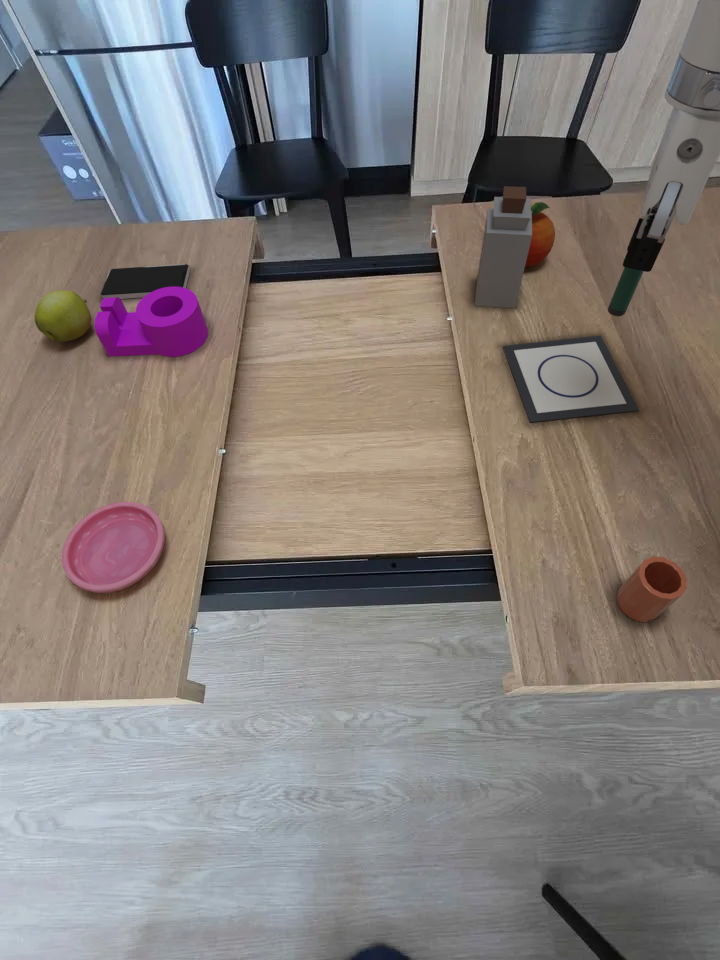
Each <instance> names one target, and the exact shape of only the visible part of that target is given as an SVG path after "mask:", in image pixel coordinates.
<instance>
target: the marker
mask: <svg viewBox="0 0 720 960" xmlns="http://www.w3.org/2000/svg"><path fill="white" fill-rule="evenodd" d="M652 221H653V219H651V218H649V221H648V223H649V222H651V223H652ZM648 223H647V224H648ZM644 272H645V271H640V270H636V269H631V268H626V267H623V270H622V273H621V275H620V277H619V279H618V283H617V285H616V287H615V290H614V292H613V295H612V297H611V299H610V302H609V305H608V307H607V312H608V314H610V315H611V316H613V317H622V316H624V315H625V314H626V312H627V310H628V309H629V305H630V303H631V301H632V299H633V296H634V294H635V292H636V290H637V289H638V288H637V287H638V286H639V283H640V280H641V279H642V276H643V274H644Z"/></svg>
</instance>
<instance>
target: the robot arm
mask: <svg viewBox="0 0 720 960" xmlns="http://www.w3.org/2000/svg"><path fill="white" fill-rule="evenodd" d="M683 39H684V40H683V43H682V45H681V48H680V51H679V53H678V55H677V56H678V57H677V59H676V61H675V64H674V67H673V70H672V72H671V75H670V78H669V81H668V83H667V86H666V89H665V90H664V99H665V100H666V102H667V103H668V104H669V105H670V106H672V110H671V113H670V114H669V115H670V116H669V117H668V120H667V123H666V126H665V129H664V131H663V134H662V137H661V140H660V142H659V145H658V148H657V150H656V154H655V157H654V160H653V163H652V166H651V170H650V174H649V177H648V180H647V184H646V188H645V192H644V195H643V200H642V205H641V208H640V214H641V217H639V218H638V220H637V222H636V225H635V227H634V230H633V233H632V236H631V238H630V240H629V243H628V245H627V249H626V250H627V252H626V254H625V257H624V259H623V262H622V267H623V268H625V267H626V268H631V269H636V270H640V271H644V272H646V273H648V272H651V271H652V270H653V268H654V265H655V263H656V261H657V259H658V257H659V255H660V252H661V250H662V248H663V245H664V243H665V241H666V238H665V237H666V236H667V233H668V231H669V229H670V227H671V225H672V223H673V220H674V219H675V220H676V221H675V223H677V224H680V225H681V226H685V225H687V224H688V223H689V222H690V221H691V218H692V216H693V213H694V211H695V209H696V207H697V205H698V203H699V200H700V198H701V196H702V193H703V191H704V189H705V186H706V184H707V182H708V180H709V178H710V176H711V173H712V171H713V169H714V166H715V164H716V163H717V160H718V157H719V156H720V0H698V2H697V4H696V7H695V9H694V12H693V15H692V18H691V21H690V23H689V25H688V29H687V31H686V34H685V37H684V38H683ZM649 218H651V219H653V221H652V223H651V222H649V223H648V221H649ZM647 223H648V224H647Z"/></svg>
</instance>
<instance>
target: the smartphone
mask: <svg viewBox="0 0 720 960" xmlns="http://www.w3.org/2000/svg"><path fill="white" fill-rule="evenodd" d="M108 270H109V271H108V273H107V276H106V278H105V281H104V284H103V287H102V290H101V292H100V296H101V298H102V299H103V298H112V297H119V298H120V299H121V300H123V299H125V300H126V299H140V298H141V299H142V298H143V297H145V296H146V295H147V294H149V293H151V292H153V291H155V290H158V289H161V288H165V287H183V288H186V289H187V284H188V281H189V277H190V272H191V268H190V266H189V264H187V263H181V264H180V263H179V264H165V265H151V266H136V267H134V266H133V267H120V268H112V269H111V268H110V269H108Z"/></svg>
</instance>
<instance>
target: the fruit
mask: <svg viewBox="0 0 720 960" xmlns="http://www.w3.org/2000/svg"><path fill="white" fill-rule="evenodd" d="M530 208H531V210H532V238H531V243H530V247H529V251H528V256H527V260H526V264H525V268H526V267H527V268H529V267H534V266H536V265H537V264H539V263H540V262H543V261H544V260H545V259H546V257H548V255H549V254H550V253H551V251H552V249H553V247H554V243H555V239H556V238H555V237H556V230H555V226H554V222H553V221H552V220H551V218H550V217H549V216H548V215H546V214H545V213H544V210H547V209H551V207H550V206H549V205H548V204H547V203H545V202H543V201H539V202H537V201H536V202H535V203H534V204H532V205H530ZM542 211H543V212H542Z"/></svg>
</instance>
